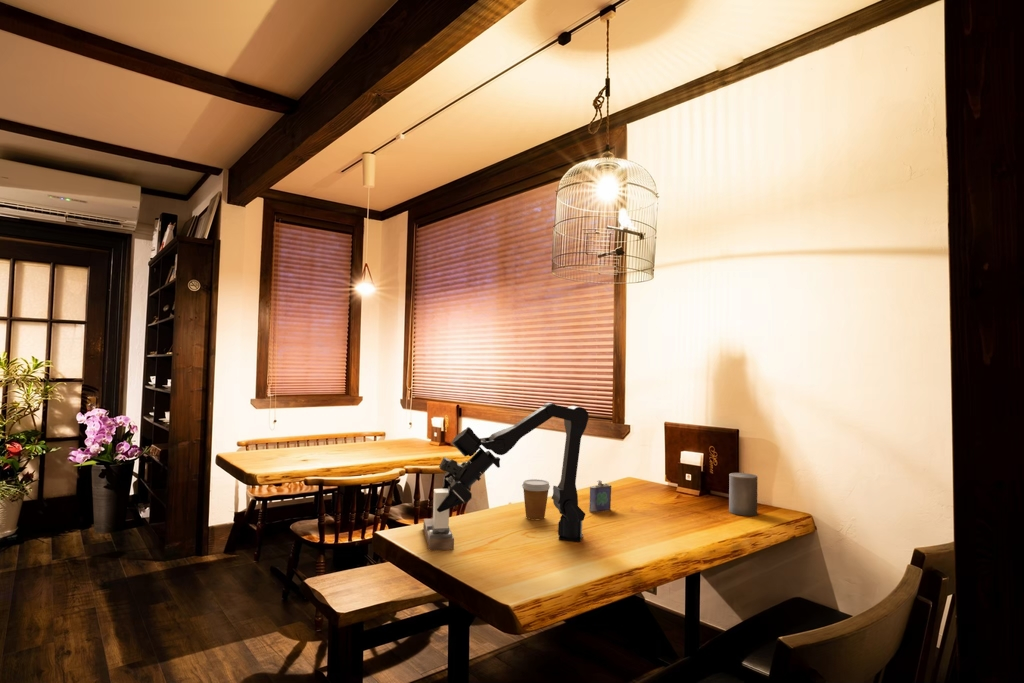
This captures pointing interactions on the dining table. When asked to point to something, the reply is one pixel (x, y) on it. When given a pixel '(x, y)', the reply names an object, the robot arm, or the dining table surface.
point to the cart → (440, 513)
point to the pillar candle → (743, 494)
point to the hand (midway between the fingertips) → (436, 507)
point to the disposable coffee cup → (535, 498)
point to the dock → (437, 537)
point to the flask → (600, 498)
